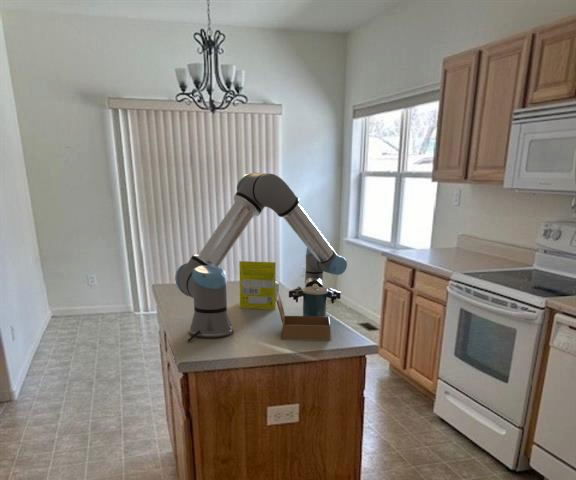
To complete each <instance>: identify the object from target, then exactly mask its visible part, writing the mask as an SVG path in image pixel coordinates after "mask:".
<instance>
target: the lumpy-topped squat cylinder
mask: <svg viewBox="0 0 576 480" xmlns="http://www.w3.org/2000/svg"><path fill="white" fill-rule="evenodd" d="M278 293H279V294H280V283H279V282H278V281H277V280H275V301H276V300H277V296H278Z"/></svg>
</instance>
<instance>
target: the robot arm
mask: <svg viewBox="0 0 576 480" xmlns="http://www.w3.org/2000/svg"><path fill="white" fill-rule="evenodd" d="M233 201H234V202H233V204H232V206H231V207H230V208H229V210H228V212H227V213H226V214H225V216H224V217H223V219H222V220H221V221H220V223H219V224H218V226H217V227H216V229H215V230H214V231H213V233H212V234H211V236H210V237H209V239H208V240H207V242H206V243H205V245H204V246H203V248H202V249H201V250H200V251H199V253H198V254H193V255H192V256H191V258H190V259H189V260H188V262H186V263H183V264H181V265H180V266H178V268H177V269H176V272H175V275H174V281H175V285H176V287H177V289H178V290H179V291H180V292H181V293H182V294H184V296H187V297H190V298H192V299H193V307H194V312H193V317H192V322H191V324H190V326H189V327H190V328H189V330H190V331H189V332H190V334H191V336H190V337H189V338H188V339H187V342H191V341H192V340H193V339H195V338H196V337H197V338H202V339H217V338H218V339H219V338H224V337H228V336H231V334H233V325H232V324H231V320H230V317H229V313H228V308H227V304H228V301H227V281H228V280H227V274H226V271H225V270H224V269H223V268H221V267H220V266H221V264H222V263H223V261H224V259H225V258H226V257H227V255H228V254H229V253H230V251H231V249H232V248H233V247H234V245H235V244H236V242H237V241H238V239H239V238H240V237H241V235H242V234H243V232H244V231H245V229H247V226H248V225H249V223H250V222H251V221H252V219H253V218H255V217H259V216H260V215H261V213H262V212H263V210H264V209H265V208H268V209H270V210H272V211H273V212H274V213H275V214H276V215H277V216H278V217H280V218H283V219H284V220H285V222H286V223H287V224H288V225H289V227H290V228H291V229H292V231H294V233H295V234H296V235H297V236H298V238H299V239H300V241H301V242H302V243H303V244H304V245H305V246H306V252H305V273H304V277H305V278H304V288H305V287H312V286H313V284H317V285H318V287H323V288H324V284H323V283H324V281H323V279H324V273H327V274H330V275H335V276H341V275H343V274H344V273H345V271H346V270H347V267H348V261H347V259H346V258H345V257H344V256H342V255H338V254H337V253H336V251H335V250H334V248H333V247H332V246H331V245H330V243H329V242H328V241H327V239H326V238H325V237H324V235H323V234H322V233H321V231H320V230H319V229H318V227H317V226H316V225H315V223H314V222H313V221H312V219H311V218H310V217H309V215H308V213H306V211H305V210H304V208H303V207H302V206H301V205H300V198H299V197H298V196H297V195H296V194H295V192H294V190H293V189H292V188H291V186H289V185H288V184H287V183H286V182H285V180H284V179H282V178H281V177H280V176H279V175H277V174H274V173H263V172H262V173H261V172H249V173H247V174H244V175H243V176H242V177H241V178H240V179H239V180H238V181H237V185H236V192H235V194H234V195H233ZM327 289H328V293H327V299H330V302H331V304H335V301H336V300H340V299H341V296H342V295H341V294H342V293H341V291H338V290H336V289H334V288H332V287H328V288H327ZM301 297H302V298H303V288H302V287H301V286H297V287H296V288H293V289H290V290H288V298H292V299H293V301H295V303H298V302H299V298H301Z"/></svg>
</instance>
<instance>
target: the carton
mask: <svg viewBox="0 0 576 480" xmlns="http://www.w3.org/2000/svg"><path fill="white" fill-rule="evenodd" d="M282 339H283V340H284V339H285V340H317V341H318V340H320V341H321V340H322V341H330V340H331V321H330V316H326V317H318V316H303V315H284V321H283V323H282Z"/></svg>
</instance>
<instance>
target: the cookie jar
mask: <svg viewBox="0 0 576 480" xmlns="http://www.w3.org/2000/svg"><path fill="white" fill-rule="evenodd" d="M302 289H303V296H302V316H318V317H327V300H328V297H327V293H328V288H326V287H324V286H323V287H318V285H317V284H313V286H312V287H305V286H304V287H303V288H302Z"/></svg>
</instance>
